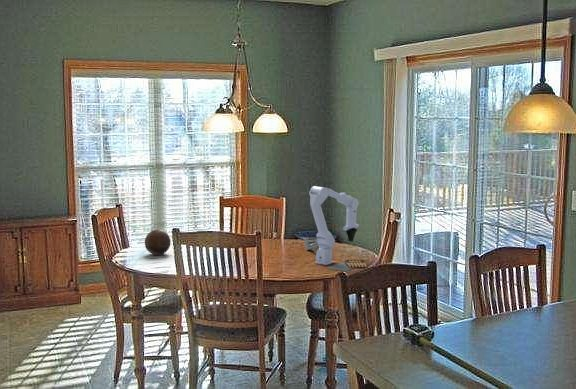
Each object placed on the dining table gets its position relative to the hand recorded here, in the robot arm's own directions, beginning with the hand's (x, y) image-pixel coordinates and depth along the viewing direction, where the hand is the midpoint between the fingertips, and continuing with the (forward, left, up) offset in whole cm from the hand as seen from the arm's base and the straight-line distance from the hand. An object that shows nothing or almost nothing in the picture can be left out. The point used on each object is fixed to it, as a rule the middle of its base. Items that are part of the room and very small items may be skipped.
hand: (350, 241), depth 385 cm
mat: (-22, -8, -10) cm, 25 cm away
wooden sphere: (-60, +97, -11) cm, 115 cm away
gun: (+1, +26, -11) cm, 28 cm away
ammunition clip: (-11, -9, -9) cm, 16 cm away
